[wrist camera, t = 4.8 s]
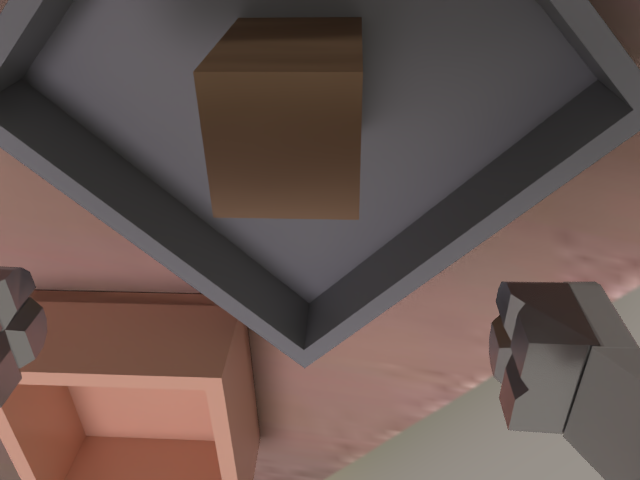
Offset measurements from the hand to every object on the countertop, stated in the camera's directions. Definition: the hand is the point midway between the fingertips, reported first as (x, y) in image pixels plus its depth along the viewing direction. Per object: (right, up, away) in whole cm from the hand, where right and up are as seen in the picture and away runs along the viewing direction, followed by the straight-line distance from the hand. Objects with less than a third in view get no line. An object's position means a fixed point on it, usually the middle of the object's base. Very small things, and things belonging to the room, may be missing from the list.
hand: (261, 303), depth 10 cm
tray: (0, +7, +10) cm, 12 cm away
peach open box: (-7, -5, +19) cm, 21 cm away
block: (0, +7, +9) cm, 12 cm away
